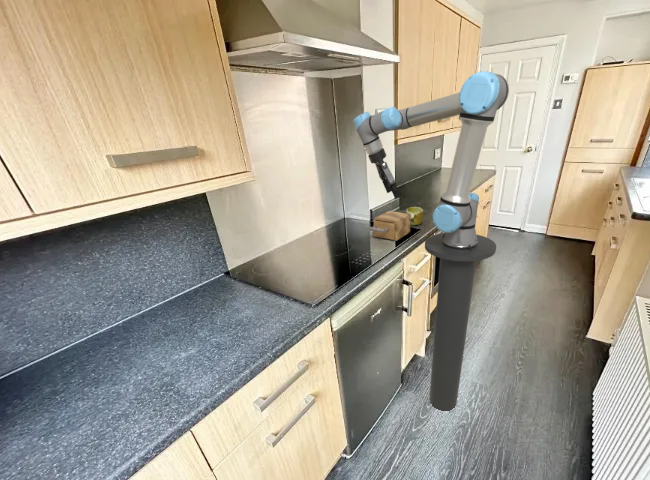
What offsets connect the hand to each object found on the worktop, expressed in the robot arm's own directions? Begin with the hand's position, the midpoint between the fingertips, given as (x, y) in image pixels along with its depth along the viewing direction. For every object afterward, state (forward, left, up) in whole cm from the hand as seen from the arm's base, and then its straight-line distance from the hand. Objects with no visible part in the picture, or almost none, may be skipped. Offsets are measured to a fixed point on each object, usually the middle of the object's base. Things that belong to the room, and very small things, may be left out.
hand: (393, 194), depth 150 cm
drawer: (-1, +4, -20) cm, 20 cm away
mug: (+14, -17, -21) cm, 30 cm away
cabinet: (+3, 0, -21) cm, 21 cm away
